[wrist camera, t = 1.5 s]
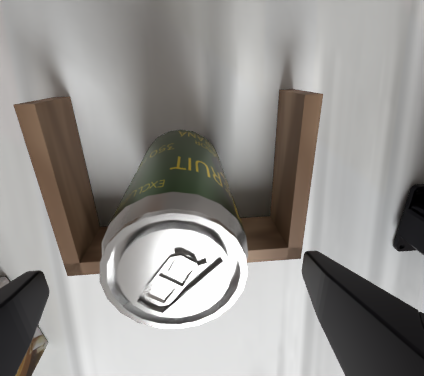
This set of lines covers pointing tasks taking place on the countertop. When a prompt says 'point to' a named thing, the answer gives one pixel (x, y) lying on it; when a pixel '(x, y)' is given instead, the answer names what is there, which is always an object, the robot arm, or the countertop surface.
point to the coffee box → (30, 348)
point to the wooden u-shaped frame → (93, 234)
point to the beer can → (175, 238)
